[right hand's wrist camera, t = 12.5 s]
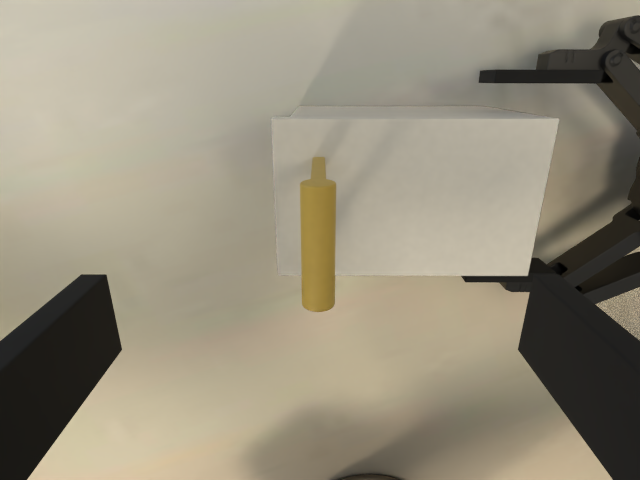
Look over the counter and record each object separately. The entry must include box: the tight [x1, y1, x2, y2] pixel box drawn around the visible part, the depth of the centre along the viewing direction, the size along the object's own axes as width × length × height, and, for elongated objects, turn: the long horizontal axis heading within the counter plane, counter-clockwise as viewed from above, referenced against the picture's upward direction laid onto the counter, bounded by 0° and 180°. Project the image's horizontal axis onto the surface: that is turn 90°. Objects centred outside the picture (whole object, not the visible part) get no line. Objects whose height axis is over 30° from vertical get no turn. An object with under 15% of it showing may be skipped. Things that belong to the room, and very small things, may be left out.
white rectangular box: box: [271, 117, 560, 312], centre depth 21 cm, size 16×10×9 cm, turn 90°
